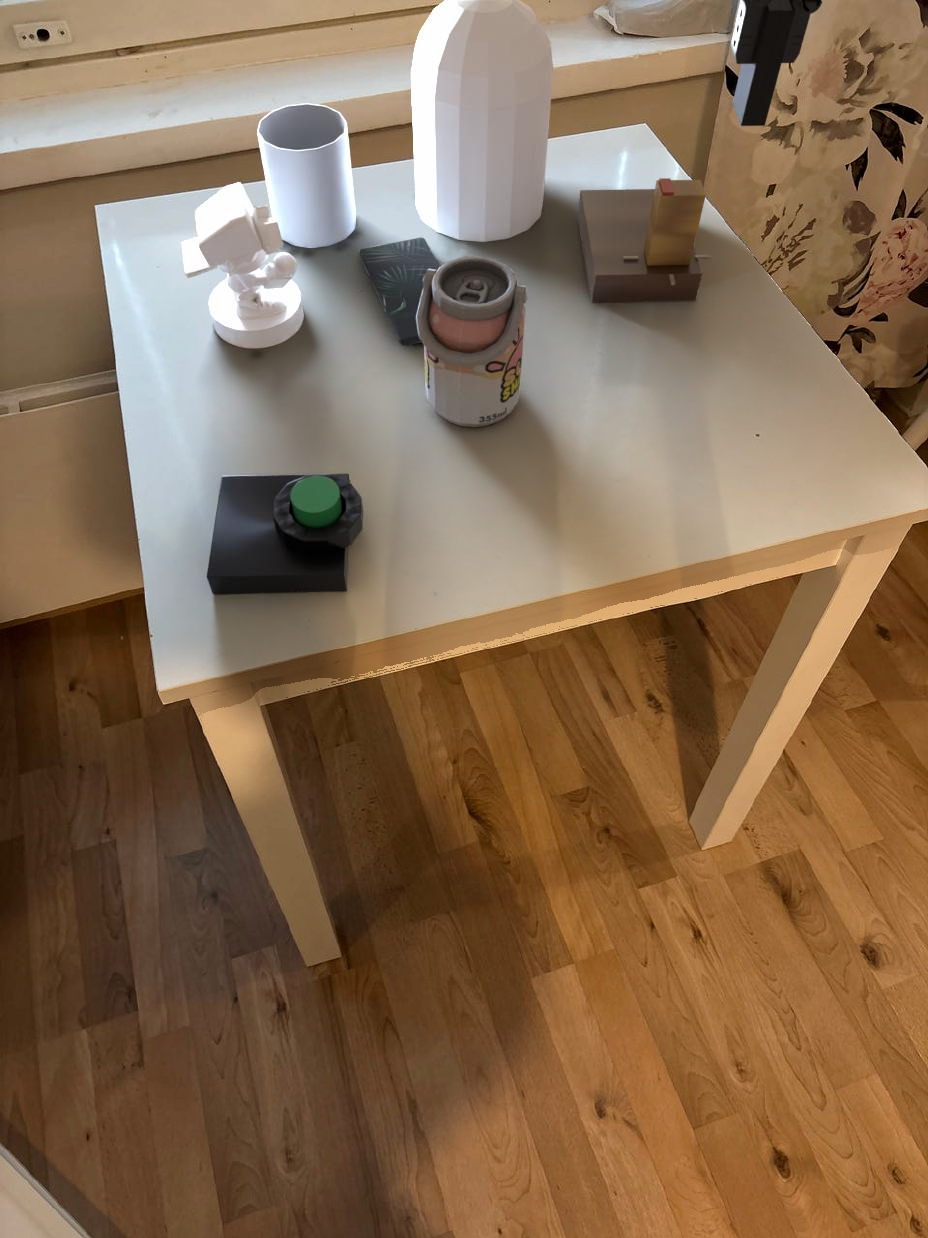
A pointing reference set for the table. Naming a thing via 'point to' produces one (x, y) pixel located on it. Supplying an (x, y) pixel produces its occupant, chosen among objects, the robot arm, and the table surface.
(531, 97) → the container
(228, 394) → the table surface
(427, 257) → the smartphone
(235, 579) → the box
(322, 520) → the open button
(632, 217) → the plate
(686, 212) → the tan wooden block
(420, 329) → the beverage can
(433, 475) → the table surface
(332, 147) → the cup
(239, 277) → the character figurine
